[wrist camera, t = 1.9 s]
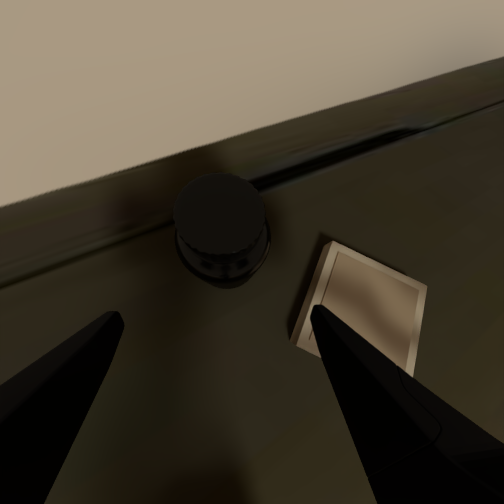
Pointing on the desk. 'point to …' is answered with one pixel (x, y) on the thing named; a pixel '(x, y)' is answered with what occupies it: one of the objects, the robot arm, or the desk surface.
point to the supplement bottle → (221, 229)
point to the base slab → (365, 304)
